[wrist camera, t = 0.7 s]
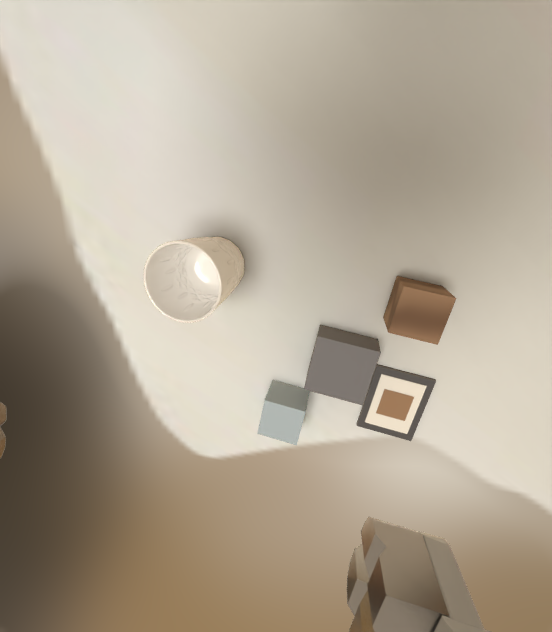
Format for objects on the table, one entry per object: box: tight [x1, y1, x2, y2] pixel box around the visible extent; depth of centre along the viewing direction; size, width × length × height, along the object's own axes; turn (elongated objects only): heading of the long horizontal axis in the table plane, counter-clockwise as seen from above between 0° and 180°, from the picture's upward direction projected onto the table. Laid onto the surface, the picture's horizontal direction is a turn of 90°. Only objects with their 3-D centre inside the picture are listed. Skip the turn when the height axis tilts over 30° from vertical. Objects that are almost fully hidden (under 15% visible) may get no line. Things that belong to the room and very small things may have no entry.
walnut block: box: [383, 276, 456, 345], centre depth 36 cm, size 5×5×5 cm
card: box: [357, 364, 436, 441], centre depth 43 cm, size 9×7×1 cm
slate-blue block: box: [258, 380, 310, 445], centre depth 44 cm, size 5×5×5 cm
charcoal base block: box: [304, 325, 381, 405], centre depth 41 cm, size 7×7×4 cm
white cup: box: [144, 236, 244, 323], centre depth 37 cm, size 8×8×10 cm
